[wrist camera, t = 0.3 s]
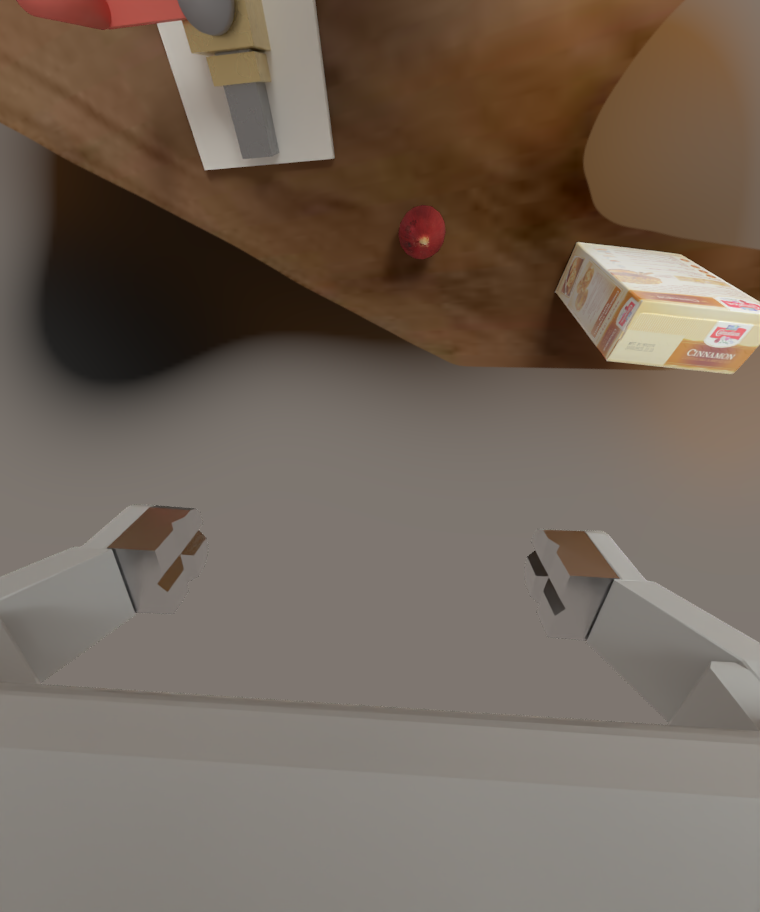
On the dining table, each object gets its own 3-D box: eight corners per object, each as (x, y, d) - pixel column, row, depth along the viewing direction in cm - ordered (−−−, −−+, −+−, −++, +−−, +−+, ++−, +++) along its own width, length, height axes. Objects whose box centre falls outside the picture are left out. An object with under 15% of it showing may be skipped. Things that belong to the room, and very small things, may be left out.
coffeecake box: (553, 293, 54) (603, 362, 40) (576, 239, 49) (642, 297, 35) (650, 305, 55) (733, 377, 41) (683, 253, 50) (790, 315, 36)
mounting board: (84, -217, 29) (75, -226, 28) (283, -255, 27) (279, -266, 26) (208, 168, 46) (204, 170, 45) (334, 157, 44) (333, 158, 43)
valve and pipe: (151, -203, 29) (97, -265, 24) (224, -216, 28) (184, -283, 23) (244, 154, 44) (223, 163, 39) (292, 150, 44) (277, 158, 39)
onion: (404, 254, 51) (404, 274, 46) (394, 207, 47) (393, 222, 42) (445, 242, 50) (450, 262, 44) (439, 193, 46) (444, 207, 41)
